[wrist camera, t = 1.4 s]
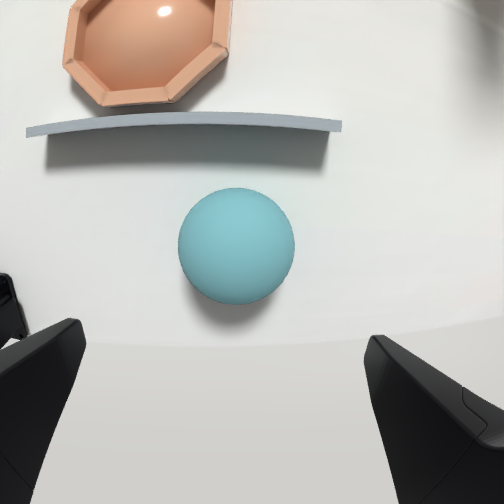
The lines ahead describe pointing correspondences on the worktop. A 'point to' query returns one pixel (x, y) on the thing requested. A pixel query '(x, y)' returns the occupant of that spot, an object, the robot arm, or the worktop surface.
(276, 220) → the ball
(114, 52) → the saucer
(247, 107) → the worktop surface
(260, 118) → the low wall
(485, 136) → the worktop surface
